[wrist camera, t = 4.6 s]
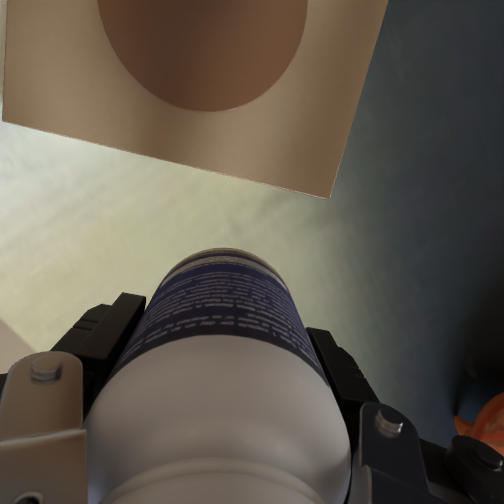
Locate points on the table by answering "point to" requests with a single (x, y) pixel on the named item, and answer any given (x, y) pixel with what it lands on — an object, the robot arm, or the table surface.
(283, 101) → the place mat
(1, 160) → the table surface
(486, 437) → the pot
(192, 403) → the pill bottle
